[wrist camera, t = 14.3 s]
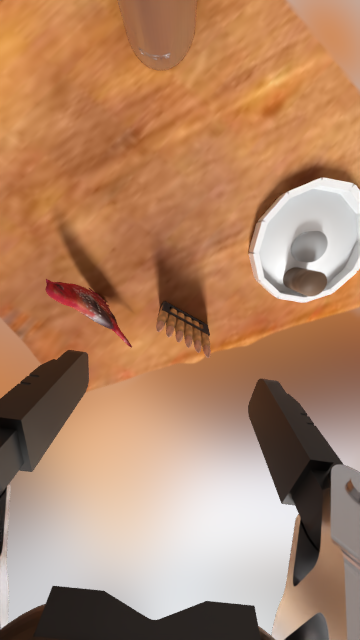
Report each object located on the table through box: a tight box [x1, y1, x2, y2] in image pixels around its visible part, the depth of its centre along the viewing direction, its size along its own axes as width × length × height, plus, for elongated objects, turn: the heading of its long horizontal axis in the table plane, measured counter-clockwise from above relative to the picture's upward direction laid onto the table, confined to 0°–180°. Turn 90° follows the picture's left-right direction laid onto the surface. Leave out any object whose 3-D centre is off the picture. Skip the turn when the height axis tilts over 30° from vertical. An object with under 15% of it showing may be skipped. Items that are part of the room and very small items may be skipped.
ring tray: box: [249, 177, 360, 303], centre depth 33 cm, size 19×19×2 cm
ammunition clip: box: [156, 301, 211, 358], centre depth 34 cm, size 11×2×12 cm, turn 60°
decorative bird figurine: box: [46, 279, 132, 347], centre depth 35 cm, size 3×18×10 cm, turn 42°
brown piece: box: [283, 267, 327, 297], centre depth 33 cm, size 4×4×6 cm
